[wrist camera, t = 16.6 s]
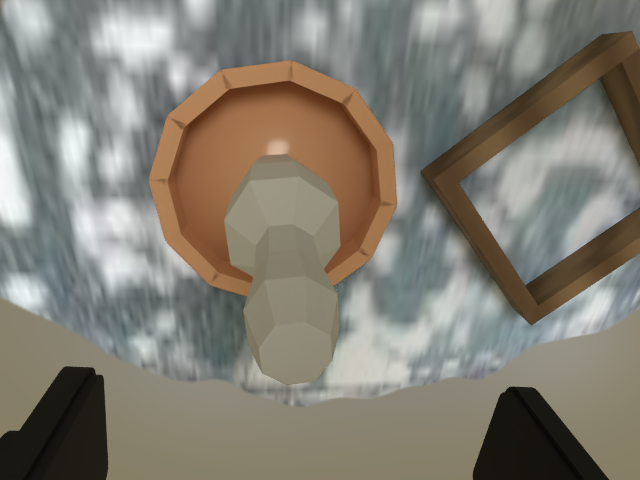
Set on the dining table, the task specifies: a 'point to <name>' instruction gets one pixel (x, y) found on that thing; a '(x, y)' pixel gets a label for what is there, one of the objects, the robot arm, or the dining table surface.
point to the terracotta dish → (270, 139)
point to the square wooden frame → (512, 122)
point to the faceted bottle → (286, 266)
